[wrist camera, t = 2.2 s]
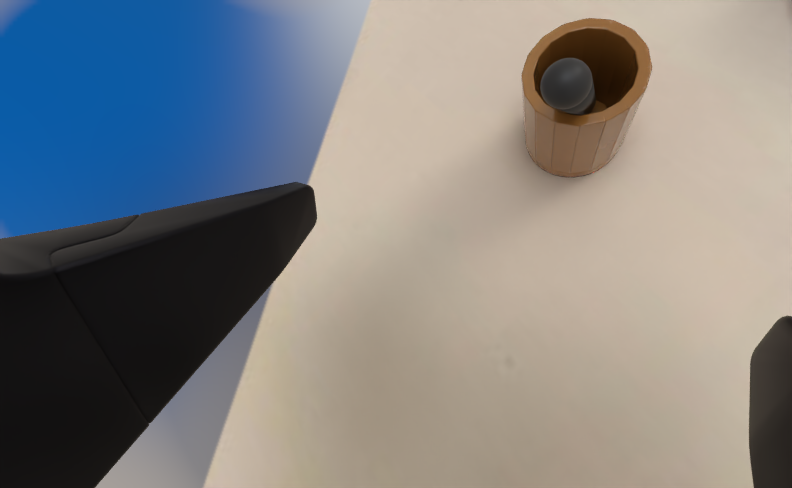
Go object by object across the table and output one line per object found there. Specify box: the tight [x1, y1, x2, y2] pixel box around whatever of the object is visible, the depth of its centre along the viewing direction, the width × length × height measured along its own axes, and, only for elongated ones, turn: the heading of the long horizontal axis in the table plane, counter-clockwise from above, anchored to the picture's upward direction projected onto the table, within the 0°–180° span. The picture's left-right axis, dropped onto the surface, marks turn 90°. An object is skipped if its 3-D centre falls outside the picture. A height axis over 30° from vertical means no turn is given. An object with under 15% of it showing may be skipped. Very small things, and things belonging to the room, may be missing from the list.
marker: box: [540, 58, 596, 116], centre depth 15 cm, size 6×1×10 cm, turn 160°
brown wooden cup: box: [522, 18, 652, 177], centre depth 18 cm, size 4×4×6 cm
